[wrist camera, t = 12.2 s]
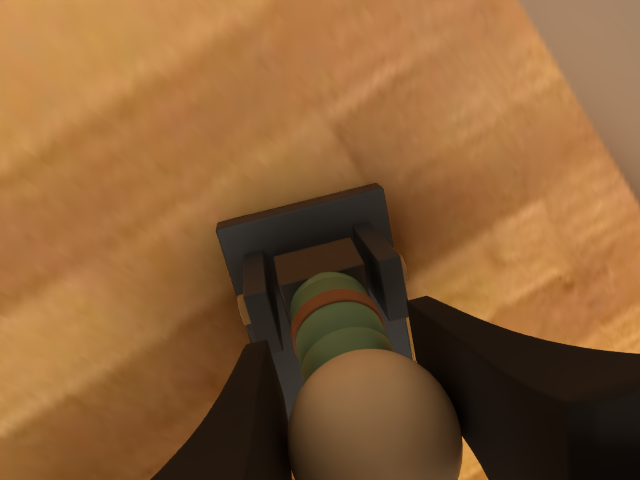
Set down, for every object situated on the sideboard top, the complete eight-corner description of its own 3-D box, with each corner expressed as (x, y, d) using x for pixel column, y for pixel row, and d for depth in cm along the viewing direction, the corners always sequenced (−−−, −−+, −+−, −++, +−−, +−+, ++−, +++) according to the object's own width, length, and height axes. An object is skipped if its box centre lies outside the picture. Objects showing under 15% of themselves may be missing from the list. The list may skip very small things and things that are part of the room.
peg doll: (376, 302, 19) (497, 545, 10) (278, 329, 18) (321, 601, 10) (362, 213, 17) (499, 428, 8) (251, 241, 16) (278, 494, 8)
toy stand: (414, 396, 23) (456, 473, 19) (282, 434, 23) (291, 523, 18) (377, 182, 19) (418, 212, 15) (216, 222, 19) (206, 267, 14)
